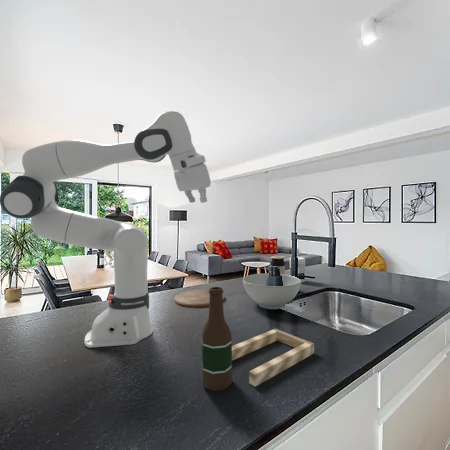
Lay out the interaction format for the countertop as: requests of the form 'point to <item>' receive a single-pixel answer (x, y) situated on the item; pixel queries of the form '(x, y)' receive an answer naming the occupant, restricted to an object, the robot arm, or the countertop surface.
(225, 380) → the beer bottle
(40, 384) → the countertop surface
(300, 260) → the supplement tub
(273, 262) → the travel mug
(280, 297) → the decorative bowl
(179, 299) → the trivet
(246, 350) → the u rest
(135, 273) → the robot arm
